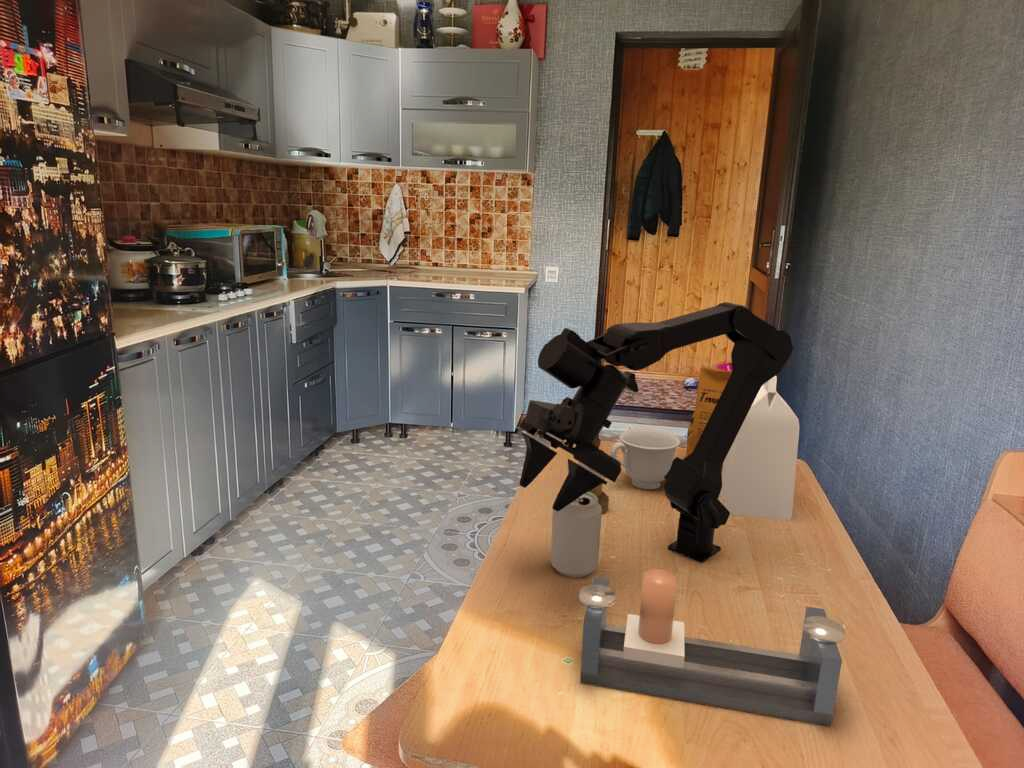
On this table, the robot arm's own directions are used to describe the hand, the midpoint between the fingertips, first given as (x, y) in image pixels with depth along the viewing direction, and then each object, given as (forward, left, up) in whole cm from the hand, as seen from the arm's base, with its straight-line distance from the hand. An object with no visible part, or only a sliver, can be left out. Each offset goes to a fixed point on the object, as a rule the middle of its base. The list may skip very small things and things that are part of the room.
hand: (537, 497), depth 99 cm
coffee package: (-66, -8, -15) cm, 68 cm away
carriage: (+3, +22, -11) cm, 25 cm away
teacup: (-44, -12, -15) cm, 48 cm away
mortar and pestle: (-28, -12, -15) cm, 34 cm away
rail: (0, +27, -15) cm, 31 cm away
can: (-9, 0, -15) cm, 17 cm away
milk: (-53, +8, -15) cm, 56 cm away
